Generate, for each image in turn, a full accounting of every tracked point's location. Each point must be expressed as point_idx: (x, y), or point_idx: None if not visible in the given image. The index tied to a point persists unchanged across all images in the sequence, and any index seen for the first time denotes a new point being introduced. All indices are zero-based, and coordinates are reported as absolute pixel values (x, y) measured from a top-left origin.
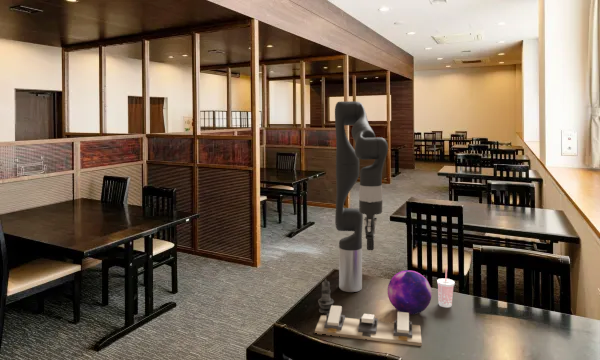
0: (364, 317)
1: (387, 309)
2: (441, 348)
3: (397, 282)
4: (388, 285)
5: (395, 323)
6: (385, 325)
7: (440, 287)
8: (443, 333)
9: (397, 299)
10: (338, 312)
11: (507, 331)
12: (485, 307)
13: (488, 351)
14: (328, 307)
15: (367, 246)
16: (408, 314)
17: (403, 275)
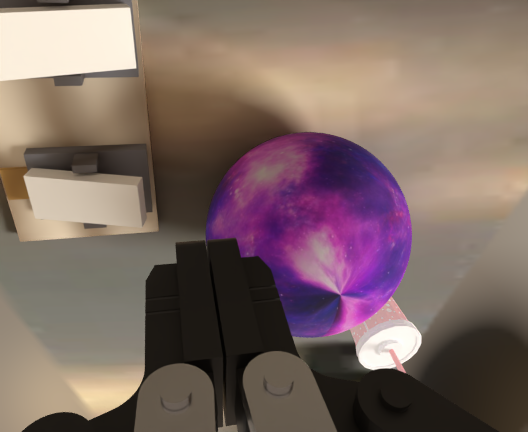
0: (14, 27)
1: (297, 100)
2: (38, 284)
3: (270, 233)
4: (318, 162)
5: (72, 168)
6: (110, 109)
7: (368, 322)
8: (145, 285)
9: (222, 192)
10: None
11: None
12: (342, 364)
13: (79, 373)
14: None
15: (179, 275)
16: (131, 225)
17: (303, 277)
